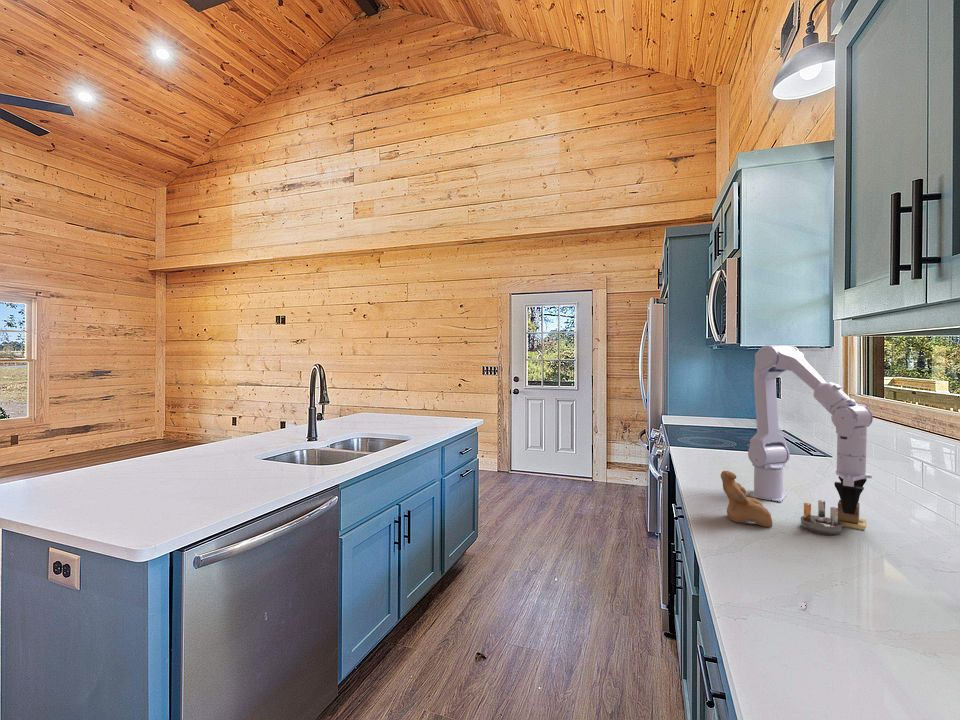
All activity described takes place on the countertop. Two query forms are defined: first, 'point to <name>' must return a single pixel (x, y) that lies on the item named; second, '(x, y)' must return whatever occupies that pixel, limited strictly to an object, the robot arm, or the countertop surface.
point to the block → (846, 516)
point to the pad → (854, 524)
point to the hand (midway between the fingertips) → (850, 509)
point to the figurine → (743, 503)
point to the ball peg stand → (821, 520)
